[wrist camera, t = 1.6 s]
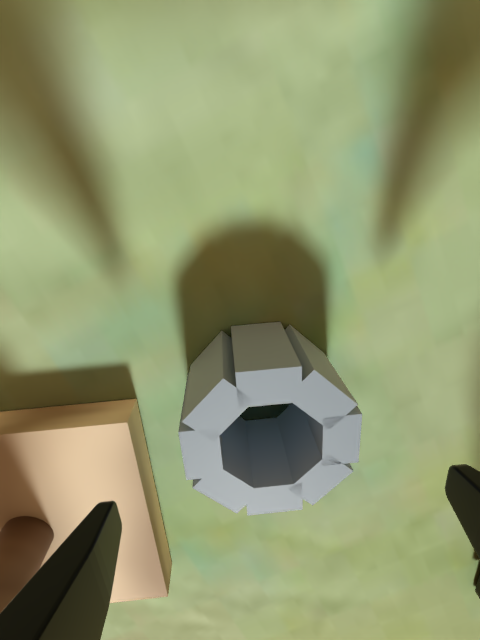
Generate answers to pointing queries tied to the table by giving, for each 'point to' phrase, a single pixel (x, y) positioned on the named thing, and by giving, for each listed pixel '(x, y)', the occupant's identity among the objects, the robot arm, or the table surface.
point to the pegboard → (79, 492)
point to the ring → (267, 421)
